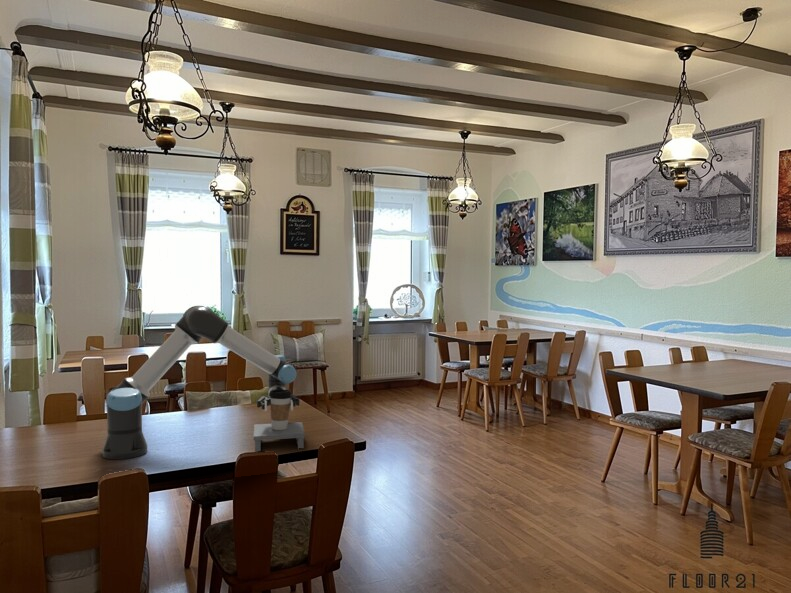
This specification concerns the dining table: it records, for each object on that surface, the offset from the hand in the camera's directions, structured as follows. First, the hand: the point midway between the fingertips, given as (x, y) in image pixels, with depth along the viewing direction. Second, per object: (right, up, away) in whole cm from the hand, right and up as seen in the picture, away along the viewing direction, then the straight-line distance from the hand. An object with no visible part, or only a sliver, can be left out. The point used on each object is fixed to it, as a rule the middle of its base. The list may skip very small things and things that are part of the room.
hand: (278, 407), depth 222 cm
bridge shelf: (-1, -15, +5) cm, 16 cm away
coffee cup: (-1, -9, +5) cm, 11 cm away
